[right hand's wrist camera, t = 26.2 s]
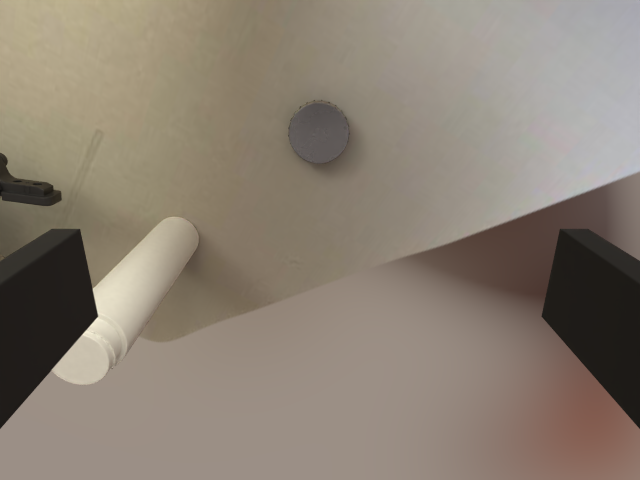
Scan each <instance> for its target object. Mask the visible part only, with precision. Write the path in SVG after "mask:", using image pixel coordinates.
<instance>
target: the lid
mask: <svg viewBox="0 0 640 480" xmlns="http://www.w3.org/2000/svg"><path fill="white" fill-rule="evenodd" d="M294 114H295V115H294V117H293V118H292V119H291V124H290V126H289V138H290V144H291V145H292V147H293V149H294V151H295V152H296V153H297V154H298V155H299V156H300V157H301V158H303V159H304V160H306V161H308V162H312V163H326V162H329V161H332V160H334V159H335V158H337V157H338V156H339V155H340V154H341V153H342V152H343V150H344V149H345V147H346V145H347V142H348V137H349V129H348V127H349V125H348V124H347V122H346V120H347V119H346V117H344V115H343V113H342V111H340V110H339V109H338V108H337V106H336V105H333V104H331V103H330V102H325V101H322V100H321V101H315V100H314V101H313V102H309V103H308V102H307V103H306V104H305V105H303V106H302V107H301V106H300V108H299V110H298V111H297V112H295V113H294Z"/></svg>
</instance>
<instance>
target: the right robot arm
mask: <svg viewBox="0 0 640 480" xmlns="http://www.w3.org/2000/svg"><path fill="white" fill-rule="evenodd" d="M97 317H98V312H97V308H96V303H95V298H94V293H93V289H92V284H91V279H90V274H89V270H88V265H87V260H86V255H85V251H84V246H83V241H82V237H81V232H80V229H51V230H49V231H48V232H46V233H45V234H43V235H41V236H40V237H38V238H37V239H35V240H33V241H32V242H30V243H29V244H27V245H25V246H24V247H22V248H20V249H19V250H17V251H16V252H14V253H12V254H11V255H9V256H8V257H6V258H4V259H3V260H1V261H0V428H1V427H2V426H3V425H4V424H5V423H6V421H7V420H8V419H9V418H10V417H11V416H12V415H13V414H14V412H15V411H16V410H17V409H18V408H19V407H20V405H21V404H22V403H23V402H24V401H25V400H26V399H27V398H28V396H29V395H30V394H31V393H32V392H33V391H34V389H35V388H36V387H37V386H38V385H39V384H40V383H41V381H42V380H43V379H44V378H45V377H46V376H47V375H48V373H49V372H50V371H51V370H52V369H53V368H54V367H55V365H56V364H57V363H58V362H59V361H60V360H61V359H62V357H63V356H64V355H65V354H66V353H67V352H68V351H69V349H70V348H71V347H72V346H73V345H74V344H75V343H76V341H77V340H78V339H79V338H80V337H81V336H82V335H83V333H84V332H85V331H86V330H87V329H88V328H89V327H90V325H91V324H92V323H93V322H94V321H95V320H96V319H97ZM542 317H543V318H544V320H545V321H546V322H547V323H548V324H549V325H550V327H551V328H552V329H553V330H554V331H555V332H556V333H557V334H558V336H559V337H560V338H561V339H562V340H563V341H564V342H565V344H566V345H567V346H568V347H569V348H570V349H571V351H572V352H573V353H574V354H575V355H576V356H577V357H578V359H579V360H580V361H581V362H582V363H583V364H584V365H585V367H586V368H587V369H588V370H589V371H590V372H591V373H592V375H593V376H594V377H595V378H596V379H597V380H598V381H599V383H600V384H601V385H602V386H603V387H604V388H605V389H606V391H607V392H608V393H609V394H610V395H611V396H612V398H613V399H614V400H615V401H616V402H617V403H618V404H619V406H620V407H621V408H622V409H623V410H624V411H625V412H626V414H627V415H628V416H629V417H630V418H631V419H632V420H633V422H634V423H635V424H636V425H637V426H638V427H639V428H640V261H639V260H637V259H636V258H634V257H632V256H631V255H629V254H628V253H626V252H624V251H623V250H621V249H620V248H618V247H616V246H615V245H613V244H611V243H610V242H608V241H607V240H605V239H603V238H602V237H600V236H599V235H597V234H595V233H594V232H592V231H590V230H589V229H560V232H559V237H558V241H557V246H556V251H555V256H554V260H553V265H552V270H551V274H550V279H549V284H548V289H547V293H546V298H545V303H544V308H543V313H542Z"/></svg>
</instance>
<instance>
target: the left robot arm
mask: <svg viewBox="0 0 640 480" xmlns="http://www.w3.org/2000/svg"><path fill="white" fill-rule="evenodd" d="M7 163H8V161H7V158H6V156H5V155H3V154H2V153H0V198H1V197H2V200H4V201H11V202H19V203H27V204H34V205H42V206H50V205H53V204H55V203H57V202H59V201H61V200H62V198H61V191H58V190H53V185H51V184H49V183H46V182H39V181H32V180H24V179H17V178H15V177H13V176H11V175H10V173H9V172H8V170H7V168H6V165H7ZM3 259H4V257H3V256H1V255H0V261H1V260H3Z"/></svg>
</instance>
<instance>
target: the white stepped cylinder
mask: <svg viewBox="0 0 640 480" xmlns="http://www.w3.org/2000/svg"><path fill="white" fill-rule="evenodd" d="M198 244H199V235H198V232H197V230H196V228H195V227H194V225H193V224H192V223H190V222H189V221H188V220H186V219H184V218H181V217H168V218H165V219H163V220H162V221H161V222H160V223H159V224H158V225H157V226H156V227H155V228H154V229H153V230H152V231H151V232H150V233H149V234H148V235H147V236H146V237H145V238H144V239H143V240H142V241H141V242H140V243H139V244H138V245H136V246H135V247H134V248H133V249H132V250H131V251H130V252H129V253H128V254H127V255H126V256H125V257H124V258H123V259H122V260H121V261H120V262H119V263H118V264H117V265H116V266H115V267H114V268H113V269H112V270H111V271H110V272H109V273H108V274H107V275H106V276H105V277H104V278H103V279H102V280H101V281H100V282H99V283H98V284H97V285H96V286H95V287H94V288H93V293H94V298H95V303H96V308H97V312H98V317H97V319H96V320H95V321H94V322H93V323H92V324H91V325H90V327H89V328H88V329H87V330H86V331H85V332H84V333H83V335H82V336H81V337H80V338H79V339H78V340H77V341H76V343H75V344H74V345H73V346H72V347H71V348H70V349H69V351H68V352H67V353H66V354H65V355H64V356H63V357H62V359H61V360H60V361H59V362H58V363H57V364H56V365H55V367H54V368H53V369H52V370H51V371H52V372H53V373H54V374H55V375H57V376H58V377H59V378H61V379H63V380H64V381H67V382H69V383H72V384H77V385H89V384H93V383H96V382H98V381H100V380H101V379H103V378H104V377H105V375H106V374H107V373H108V371H109V370H110V368H111V369H113V367H114V366H116V365H117V364H119V363H120V362H121V361H122V360H123V358H124V357H125V356H126V354H127V353H128V351H129V350H130V348H131V347H132V345H133V344H134V342H135V341H136V339H137V338H138V336H139V335H140V333H141V332H142V330H143V329H144V327H145V326H146V324H147V323H148V321H149V320H150V318H151V317H152V315H153V314H154V312H155V310H156V309H157V307H158V306H159V304H160V303H161V301H162V300H163V298H164V297H165V295H166V294H167V292H168V291H169V289H170V288H171V286H172V285H173V283H174V282H175V280H176V279H177V277H178V276H179V274H180V273H181V271H182V270H183V268H184V267H185V265H186V264H187V262H188V261H189V259H190V258H191V256H192V255H193V253H194V252H195V250H196V249H197V247H198Z"/></svg>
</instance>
